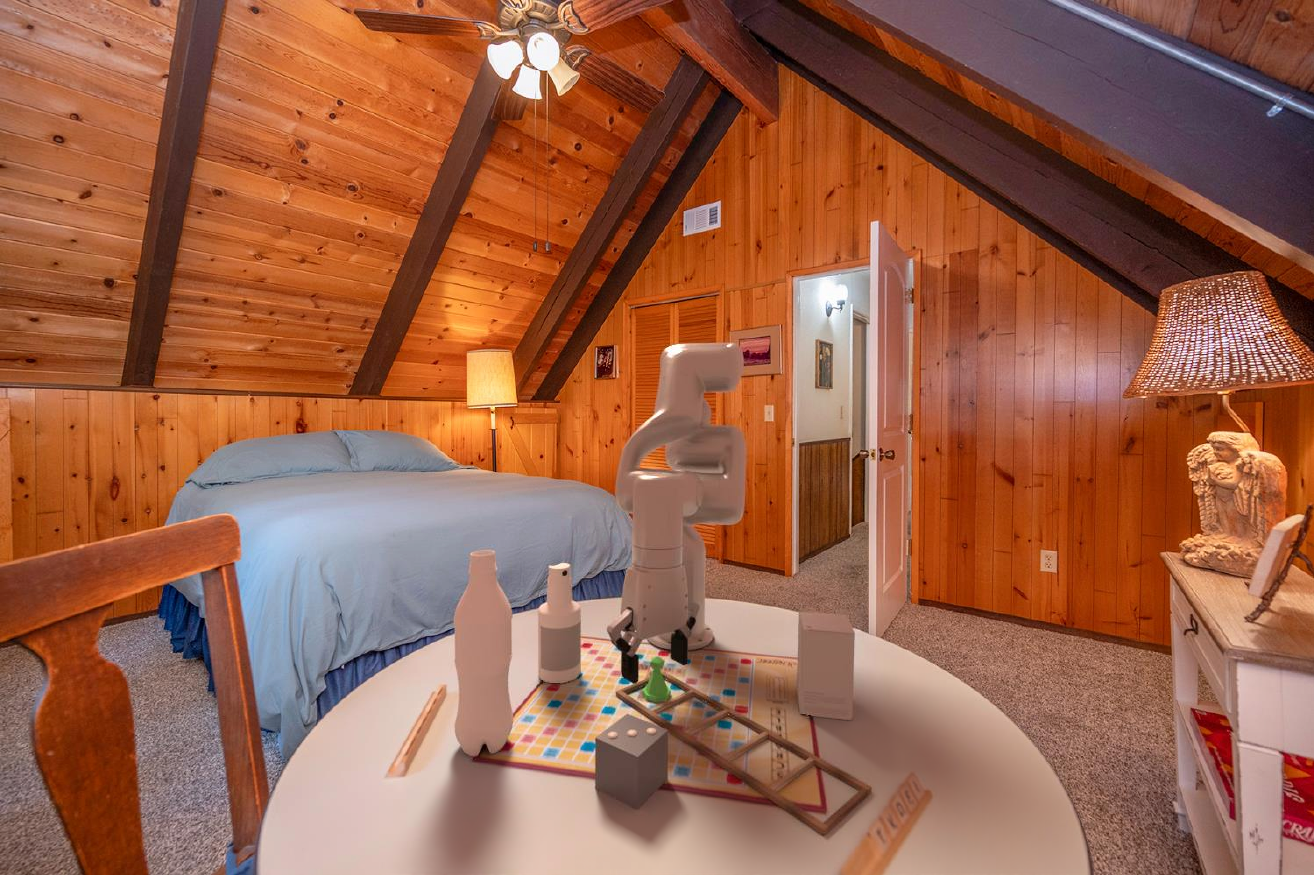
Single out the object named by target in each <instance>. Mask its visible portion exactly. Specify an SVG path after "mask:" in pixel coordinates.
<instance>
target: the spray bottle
mask: <svg viewBox="0 0 1314 875" xmlns="http://www.w3.org/2000/svg"><path fill="white" fill-rule="evenodd" d="M572 583H573V581H572V577H571V564H569V563H566V562H565V563H564V562H560V563H559V564H555V565H548V577H547V584H546V585H547V587H546V588H547V591H546V602H544V603H542V604H541V605H540V606H539V607H538V609H537V617H538V619H537V627H538V628H537V634H538V635H537V638H538V639H537V641H538V643H537V645H538V648H537V652H538V656H537V658H538V661H537V663H538V665H537V666H538V670H537V671H538V672H537V674H538V677H539V679H540V680H541V681H542V680H543V681H542V682H544V681H545V683H547V682H550V683H549V684H551V683H560V684H566V683H569V682H568V681H570V682H572V681H574V680H576V679H577V678H578V677H579V676H580V674H581V667H582V665H581V664H582V661H581V660H582V658H581V656H582V655H581V654H582V653H581V652H582V651H581V650H582V648H581V647H582V646H581V645H582V643H581V641H582V639H581V637H582V636H581V632H582V630H581V628H582V626H581V625H582V618H581V617H582V614H581V612H582V610H581V605H580V604H579V603H578V602H577V601H575V600H573V591H572V587H573V586H572ZM573 679H574V680H573ZM571 680H572V681H571ZM565 682H566V683H565Z"/></svg>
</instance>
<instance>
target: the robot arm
mask: <svg viewBox="0 0 1314 875" xmlns="http://www.w3.org/2000/svg"><path fill="white" fill-rule="evenodd" d="M659 360H660V363H659V364H660V366H659V368H660V373H659V380H658V386H657V391H656V399H655V403H654V405H655V406H654V412H653V415H652V416H651V417H650V418H648V419H647V420H646V421H645V422H644V423H642V424H641V425H639V427H638V428H637V429H636V430H635V431H634V432H633V433H632V434H631V436H630V437H629V439H628V440H627V442H626V443H625V444H624V447H623V448H622V451H621V454H620V460H619V464H618V469H617V475H616V479H615V480H616V481H615V489H614V494H615V495H614V497H615V502H616V504H617V507H618V508H619V510H621V511H622V512H624V513H627V514H629V515H630V514H631V515H632V543H631V544H632V547H631V550H632V551H631V565H630V566H627V568H626V571H625V576H624V581H623V586H622V591H621V592H622V593H621V603H620V615H619V616H617V617H616V618H615V619H613V621H612V622H611V623H610V624H608V625H607V627H606V632H607V634H608V636H609V638H610V641H611V643H612V645H613V646H614V647H615V648H616V649H617V650H618V651H619V652H621V653H620V654H621V656H620V661H621V662H620V673H621V677H622V678H623V679H625V680H627V681H628V682H630V683H632V685H633V684H635V683H638V682H639V673H640V672H639V671H640V670H639V669H640V668H639V666H640V664H639V662H640V659H639V658H640V656H639V655H638V654H637V651H638V649H639V647H640V645H642V642H643V640H645V641H646V640H647V641H649V643H651V644H652V645H653V646H656V647H658V648H661V649H665V650H670V659H671V660H672V661H674V662H676V663H678V664H681V665H682V666H686V665H688V659H689V658H688V653H689V651H693V650H698V649H701V648H704V647H706V646H708V645H709V644H710V643H711V642H712V641H713V639H714V638H713V637H714V636H713V634H714V632H713V629H712V628H711V627H710V626H709V625H707V624H706V623H705V622H706V616H705V614H706V608H705V606H706V552H707V551H706V545H705V542H704V539H703V537H702V536H701V534H700V533H699V532H698V530H697V529H696V528H695V527H694V525H698V524H700V525H701V524H702V525H720V526H721V525H722V526H723V525H725V526H728V525H729V526H731V525H735V524H737V523H739V522H740V521H741V520H742V517H743V516H744V512H745V505H746V504H745V503H746V481H747V480H746V479H747V478H746V477H747V476H746V474H747V443H746V438H745V435H744V433H743V431H742V430H741V429H740V428H738V427H737V426H733V425H727V424H711V420H712V408H711V406H710V404H709V403H708V401H707V400H706V399H705V397H704V396H705V395H704V394H705V393H732V392H734V391H735V390H736V389H737V387H738V386H739V384H740V381H741V378H742V377H743V372H744V364H745V361H744V360H745V359H744V354H743V351H742V348H741V347H740V345H739V344H738V343H736V342H699V343H698V342H694V343H693V342H690V343H689V342H687V343H678V344H673V345H670V346H668V347H666V348H665V349H663V351H662V352H661V355H660V359H659ZM661 447H665V451H664V455H665V462H666V465H667V466H668V467H669V468H670V469H666V468H665V469H664V468H640V466H641V464H642V462H643V461H644V459H646V457H647V456H648V455H649V454H651V453H653V452H654V451H655V450H657V449H660V448H661ZM622 632H623V635H622ZM630 642H631V643H630Z"/></svg>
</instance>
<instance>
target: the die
mask: <svg viewBox="0 0 1314 875" xmlns="http://www.w3.org/2000/svg"><path fill="white" fill-rule="evenodd" d="M594 742H595V744H594V746H595V748H594V750H595V752H594V753H595V754H594V760H595V761H594V762H595V763H594V766H595V768H594V771H595V772H594V775H595V776H594V778H595V780H594V788H595V789H596V790H598V791H601V792H602V793H604V794H606V795H608V796H610V797H611V798H614V799H615V800H618V801H619V802H622V803H623V804H625V805H627V806H629V807H631V808H633V809H635V810H636V811H638V810H639V809H640V808H641V807H642V806H643V805H644V804H645V803H646V802H647V801H648V800H649V799H650V798H651V797H652V796H653V794H655V792H656V791H658V789H659V788H660V787H661V786H662V785H664V783H666V781H667V780H668V779H669V778H668V777H669V776H668V773H669V770H668V769H669V767H668V766H669V763H668V762H669V731H668V730H667V729H665V728H663V727H662V726H660V725H658V724H657V725H656V724H655V723H652V722H649V721H646V720H644V719H642V718H639V717H637V716H635V715H632V714H630V713H626V714H625V715H624V716H622V717H621V718H620V719H619V718H618V720H617V721H616V722H614V723H613V724H611V725H610V726H609V727H607V729H605V730H604V731H602V732H601V733H600V734H598V735H597V736H596V737H595V741H594Z"/></svg>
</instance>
